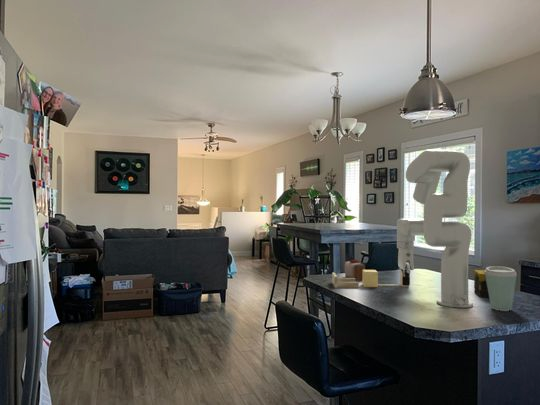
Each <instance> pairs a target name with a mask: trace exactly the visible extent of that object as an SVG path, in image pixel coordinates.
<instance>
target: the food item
mask: <svg viewBox="0 0 540 405" xmlns="http://www.w3.org/2000/svg"><path fill="white" fill-rule="evenodd" d="M362 270H366V265H365V264H362V263H360V260H358V259H351V260H348V261H345V262H344V277H345V278H355V282H360V281H361V282H362Z"/></svg>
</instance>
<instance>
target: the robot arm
mask: <svg viewBox="0 0 540 405" xmlns="http://www.w3.org/2000/svg"><path fill="white" fill-rule="evenodd" d="M470 170H471V161H470V159H469V157H468V156H467V154H466V153H464V152H462V151H458V150H451V149H450V150H449V149H426V150H424V151H422V152H421V153H420V154H418V156H416V157H415V159H413V160H412V161H411V162H410V163H409V165H408V166H407V168H406V171H405V178H406V181H407V182H409V183H410V184H411V183H412V184H416V185H415V188H414V191H413V194H412V198H413V200H414V201H416V202H418V204H419V203H420V204H421V205H423V218H398V219H397V221H396V249H398V254H397V255H398V256H397V265H398V268H399V271H400V272H399V276H400V278H399V279H400V280H399V282H400V284H401V271H403V285H409V286H410V285H411V271H414V269H415V262H414V247H415V246H414V245H415V243H414V242H415V237H416V236H423V239H424V241H425V242H424V243H426V245H428V246H430V247H433V248H441V247H442V248H444V247H445V248H444V250H443V252H442V254H441V257H440V258H441V259H440V261H441V263H440V297H438V298H436V303H437V304H439V305H441V306H444V307H450V308H458V309H459V308H461V309H464V308H465V309H467V308H472V307H473V306H474V303H473V301H472V300H469V255H470V253H469V252H470V246H471V241H472V235H473V234H472V229H471V227H470V226H469V224H467V223H465V222H463V221H443V219H458V218H463V217H465V216H466V214H467V212H468V183H469V181H468V180H469V175H470V172H471V171H470ZM442 172H443V173H445V172H446V173H447V172H448V173H447V175H446V176H445V178H444V179H443V181H442V182H443V183H442V192H437V188H438V185H439V182H440V180H441V179H440V178H441V176H442ZM405 271H406V272H405Z"/></svg>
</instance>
